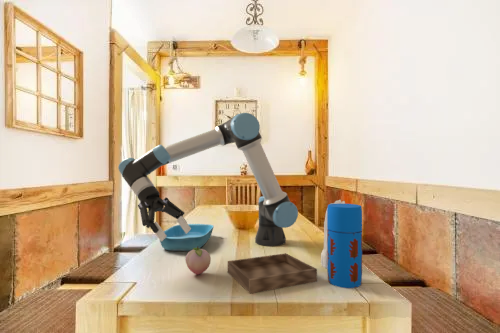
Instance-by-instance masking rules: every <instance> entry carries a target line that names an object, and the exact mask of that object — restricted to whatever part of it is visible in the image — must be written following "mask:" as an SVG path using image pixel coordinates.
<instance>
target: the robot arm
mask: <svg viewBox="0 0 500 333" xmlns="http://www.w3.org/2000/svg"><path fill="white" fill-rule="evenodd" d="M260 128H261V127H260V122H259V120H258V118H257V117H256V116H255V115H253V114H251V113H249V112H241V113H237V114H236V115H234V116H232V117H231V118H230V119H229V120H227V121H225V122H223V123H221V124H219V125H216V126H215V127H214V129H211V130H209V131H206V132H203V133H201V134H198V135H195V136H191V137H189V138H185V139H183V140H181V141H178V142H175V143H172V144H169V145H167V146H164V145H163V144H157V146H154V147H153V148H151V149H150V150H148V151H147V152H146V153H145V154H143V155H142V156H140V157H139V158H137V159H135V158H133V157H128V158H124V159H123V160H122V161H121V162H120V163H119V164H118V168H117V169H118V171H119V173H120V175H121V177H122V178H123V179H124V181H125V182H126V183H127V185H128V187H129V188H130V189H131V191H132V192H133V193H134V194H135V195H136V198H137V199H138V200H139V202H138V204H137V207H138V210H139V212H140V217H141V222H142V223H141V224H142V226H143V227H146V228H147V229H151V230H152V233H154V235H156V236H157V238H158V239H160V240H159V242H160V241H163V240H164V239H165V238H166V234H165V233H164V231H165V230H163V228H162V227H161V226H160V224H159V223H158V221H155V217H156V215H155V214H156V213H157V212H161V213H165V214H167V215H169V216H171V217H173V218H174V219H176V222H177V223H178V225H180V226H181V227H182V229H183V230H184V232H185V233H186V234H187V233H188V232H189V231H190V230H191V228H190V226H189V225H188V224H189V223H188V221H187V220H186V219H185V217H184V215H185V212H184V210H182V209H181V208H180V207H179V206H177V205H175V204H174V202H172V201H171V200H170V199H169V198H168V197H165V198H164V199H163V198H161V197H160V196H161V195H160V191H159V190H158V189H157V187H156V186H155V185H154V183H153V182H152V180H151V179H150V178H149V177H148V175H150V174H152V173H153V172H155V171H156V170H157V169H159V168H161V167H163V166H165V165H168V164H171V163H173V162H176V161H179V160H181V159H184V158H188V157H190V156H192V155H195V154H198V153H201V152H203V151H206V150H210V149H211V148H212V149H213V148H214V147H217V146H222V147H223V146H226V145H229V144H235V145H236V148H237V150H240V151H242V153H243V156H244V157H245V159H246V161H247V162H246V163H248V166H249V168H250V170H251V173H252V174H253V176H254V179H255V181H256V183H257V185H258V188H259V190H260V193H261V195H262V196H260V197H258V204H257V205H258V228H257V232H256V234H255V238H254V239H255V240H254V242H255V244H257V245H260V246H266V247H267V246H269V247H273V246H274V247H276V246H282V245H285V244H286V243H287V238H286V235H285V231H284V228H285V229H286V228H290V227H292V226H293V225H295V223H296V221H297V219H298V216H299V210H298V208H297V206H296V204H294V202H291V200H290V198H289V196H288V193H287V192H285V191H283V190H282V188H281V186H280V184H279V181H278V179H277V177H276V175H275V173H274V170H273V168H272V166H271V163H270V161H269V159H268V157H267V155H266V152H265V149H264V148H263V146H262V143H261V142H262V139H263V137H262V135H261V132H260Z"/></svg>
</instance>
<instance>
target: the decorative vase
mask: <svg viewBox="0 0 500 333" xmlns="http://www.w3.org/2000/svg"><path fill="white" fill-rule="evenodd" d="M330 204H346V202H345V200H343V201H341V199H339V200H337V199H336V200H335V201H334V202H333V203H332V202H331V203H330ZM327 209H328V207H327V208H326V211H325V215H324V222H323V249H322V251H321V253H320V265H321V267H323V268H324V269H327V229H328V228H327Z"/></svg>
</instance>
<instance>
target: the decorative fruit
mask: <svg viewBox="0 0 500 333" xmlns="http://www.w3.org/2000/svg"><path fill="white" fill-rule="evenodd" d="M187 252H188V253H187V254H186V256H185V258H184V259H185V264H186V266H187V269H189V270H190V272H192V273H193V274H195V275H196V276H197V275H198V276H199V275H201V274H202V273H205V272H206V271H207V269H208V268H209V267H210V264H211V261H212V260H211V259H212V258H211V254H210V253H209V252H208V251H207V250H206V249H204V248H198V246H197V248H193V250H191V251H187Z"/></svg>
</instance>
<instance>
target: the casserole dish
mask: <svg viewBox="0 0 500 333" xmlns="http://www.w3.org/2000/svg"><path fill="white" fill-rule="evenodd" d="M187 224H188V225H189V226H190V228H191V230H190V231H189V232H188V233H187V234H186V233H185V232H184V230H183V229H182V227H181V226H180V225H179V224H175V225H173V226H171V227H169V228H167V229H165V230H163V231H164V233H165V234H166V238H165V239H164V240H163V241H160V239H159V238H158V239H159V242H160V246H161V247H162V248H163V249H164V250H165V251H174V252H175V251H176V252H178V251H181V252H183V251H186V252H190V251H191V250H193V248H197V246H198V248H200V249H202V247H203V246H204V245H206V243H207V242H208V240H210V239H211V236H212V234H213V230H214V225H213V224H205V223H187Z"/></svg>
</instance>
